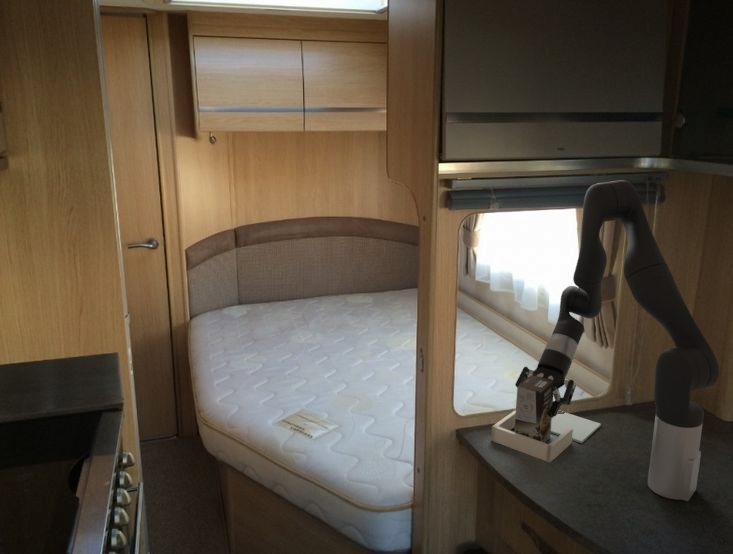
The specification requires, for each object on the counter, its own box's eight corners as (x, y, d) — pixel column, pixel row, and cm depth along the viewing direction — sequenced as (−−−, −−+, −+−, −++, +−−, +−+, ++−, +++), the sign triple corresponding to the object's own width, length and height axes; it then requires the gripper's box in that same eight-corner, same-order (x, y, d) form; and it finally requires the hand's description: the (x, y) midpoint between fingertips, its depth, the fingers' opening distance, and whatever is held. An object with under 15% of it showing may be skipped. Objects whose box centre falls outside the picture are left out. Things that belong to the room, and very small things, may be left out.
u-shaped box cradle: (571, 443, 164) (572, 428, 163) (549, 462, 155) (551, 447, 154) (514, 423, 174) (515, 409, 173) (491, 440, 166) (492, 426, 165)
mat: (600, 425, 173) (601, 423, 172) (581, 443, 164) (581, 441, 164) (551, 410, 182) (551, 408, 181) (531, 425, 173) (531, 423, 173)
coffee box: (537, 452, 160) (541, 392, 156) (512, 444, 164) (516, 385, 159) (551, 437, 167) (555, 379, 163) (527, 430, 171) (531, 373, 166)
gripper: (528, 342, 170) (504, 397, 165) (581, 355, 161) (557, 414, 156) (537, 355, 176) (513, 408, 170) (588, 368, 167) (565, 425, 161)
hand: (534, 411), depth 163 cm, fingers open, 8 cm apart
